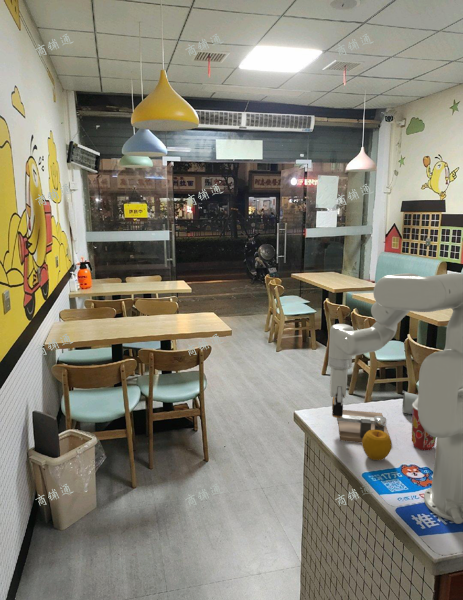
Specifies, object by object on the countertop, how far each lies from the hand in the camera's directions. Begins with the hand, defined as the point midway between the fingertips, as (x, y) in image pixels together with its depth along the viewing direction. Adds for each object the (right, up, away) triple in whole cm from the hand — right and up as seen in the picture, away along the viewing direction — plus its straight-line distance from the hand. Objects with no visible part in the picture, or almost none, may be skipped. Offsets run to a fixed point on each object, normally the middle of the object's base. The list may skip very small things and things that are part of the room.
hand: (337, 412), depth 146 cm
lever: (+7, -3, -1) cm, 8 cm away
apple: (+8, -11, -14) cm, 20 cm away
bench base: (+10, -7, +4) cm, 12 cm away
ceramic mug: (+33, -4, +16) cm, 36 cm away
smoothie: (+26, -9, -7) cm, 28 cm away
